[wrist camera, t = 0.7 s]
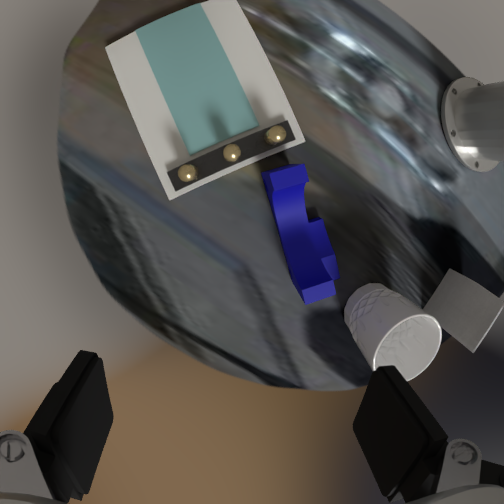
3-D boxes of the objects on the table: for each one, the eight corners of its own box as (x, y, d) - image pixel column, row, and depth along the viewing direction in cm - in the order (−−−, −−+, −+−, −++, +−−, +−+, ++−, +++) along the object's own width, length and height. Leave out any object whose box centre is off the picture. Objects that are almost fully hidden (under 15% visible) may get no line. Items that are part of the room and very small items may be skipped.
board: (231, -1, 25) (232, -8, 23) (301, 142, 30) (306, 141, 28) (109, 51, 25) (104, 46, 24) (172, 198, 30) (169, 200, 29)
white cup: (336, 285, 34) (374, 326, 24) (397, 271, 34) (446, 304, 25) (339, 343, 36) (370, 394, 27) (395, 328, 37) (436, 370, 27)
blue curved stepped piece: (330, 268, 34) (350, 288, 28) (292, 281, 34) (305, 304, 28) (303, 160, 30) (320, 159, 25) (260, 172, 30) (269, 173, 25)
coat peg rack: (285, 121, 28) (294, 114, 24) (294, 140, 28) (304, 136, 24) (168, 172, 28) (159, 172, 24) (176, 191, 29) (169, 194, 25)
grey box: (421, 310, 36) (465, 347, 27) (449, 268, 35) (499, 295, 26) (435, 321, 37) (478, 357, 27) (462, 280, 36) (509, 308, 26)
